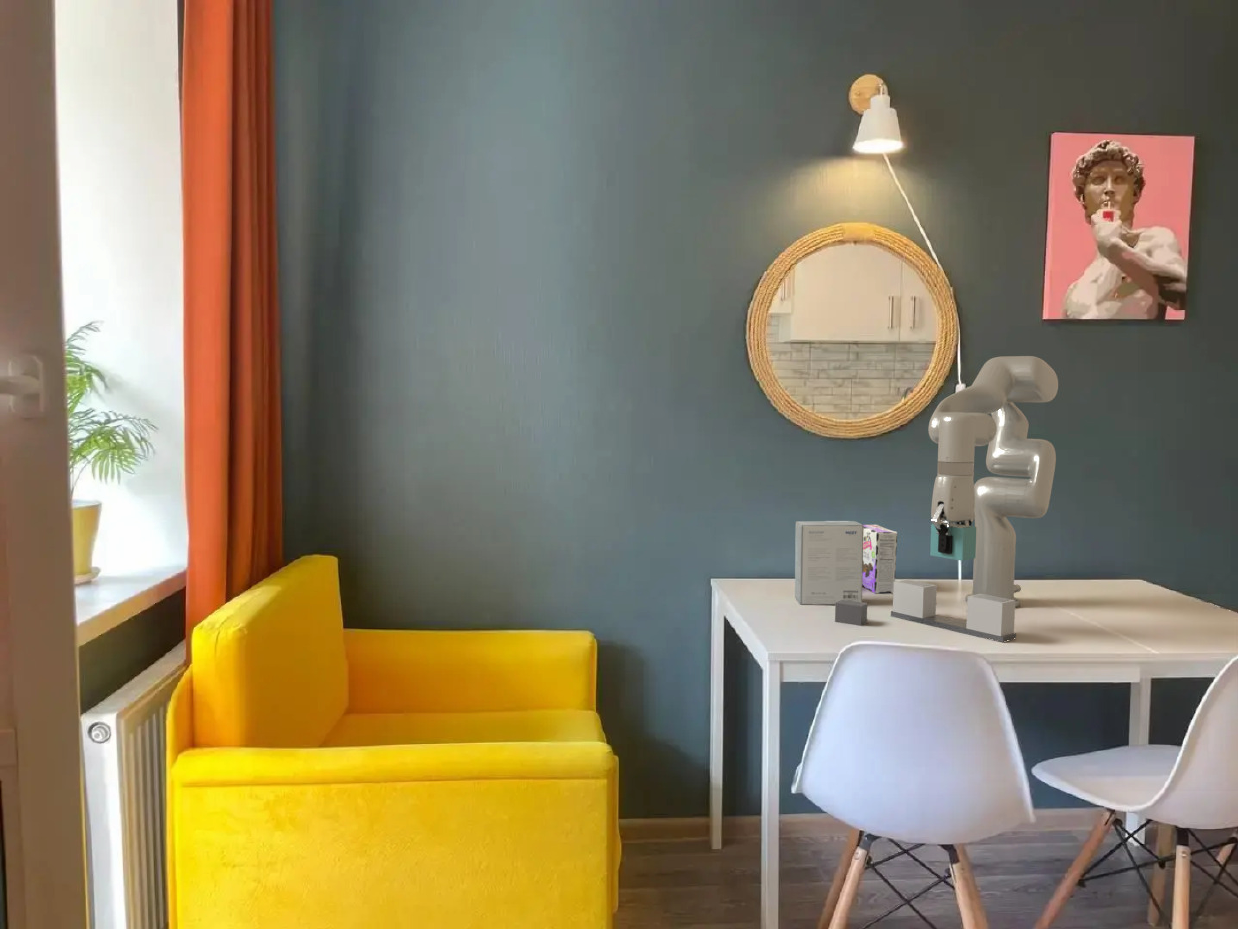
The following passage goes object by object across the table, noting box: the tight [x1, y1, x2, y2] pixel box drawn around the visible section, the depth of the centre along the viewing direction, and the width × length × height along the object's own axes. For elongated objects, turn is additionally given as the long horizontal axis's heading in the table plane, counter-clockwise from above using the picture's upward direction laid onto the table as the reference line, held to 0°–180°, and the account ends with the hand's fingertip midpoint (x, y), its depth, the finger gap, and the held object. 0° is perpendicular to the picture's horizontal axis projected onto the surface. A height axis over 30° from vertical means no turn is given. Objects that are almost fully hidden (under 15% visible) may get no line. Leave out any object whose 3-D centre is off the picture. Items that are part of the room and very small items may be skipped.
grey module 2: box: [966, 594, 1016, 636], centre depth 195 cm, size 8×5×7 cm, turn 37°
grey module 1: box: [892, 579, 938, 618], centre depth 210 cm, size 8×5×7 cm, turn 37°
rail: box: [890, 610, 1017, 643], centre depth 203 cm, size 28×5×1 cm, turn 37°
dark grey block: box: [834, 600, 868, 627], centre depth 206 cm, size 4×6×4 cm, turn 57°
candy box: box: [862, 524, 898, 594], centre depth 244 cm, size 14×6×16 cm, turn 6°
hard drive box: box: [794, 520, 864, 606], centre depth 227 cm, size 16×8×20 cm, turn 90°
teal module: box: [929, 523, 977, 562], centre depth 202 cm, size 5×8×7 cm, turn 37°
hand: (952, 551), depth 202 cm, fingers closed on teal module, 5 cm apart
